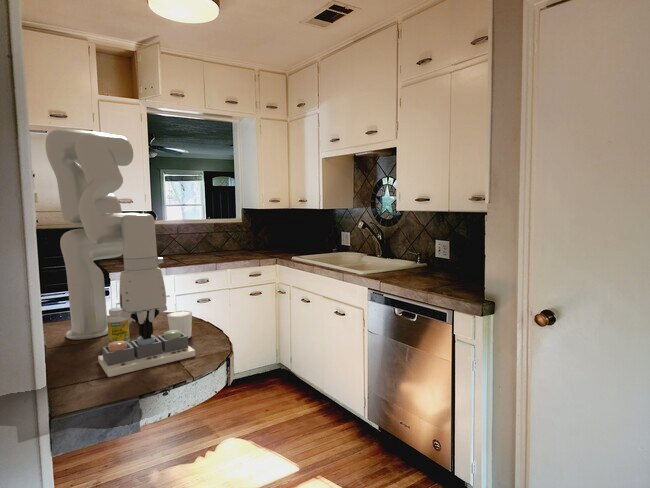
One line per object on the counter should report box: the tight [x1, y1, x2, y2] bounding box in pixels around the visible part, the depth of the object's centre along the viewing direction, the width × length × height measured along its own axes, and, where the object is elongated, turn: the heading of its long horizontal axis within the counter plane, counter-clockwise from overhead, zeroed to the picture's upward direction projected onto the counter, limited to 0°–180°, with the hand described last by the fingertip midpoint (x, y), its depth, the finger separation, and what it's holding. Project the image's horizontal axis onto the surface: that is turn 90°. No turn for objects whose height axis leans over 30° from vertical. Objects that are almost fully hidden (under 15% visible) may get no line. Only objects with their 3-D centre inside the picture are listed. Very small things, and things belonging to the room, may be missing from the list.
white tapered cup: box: [166, 310, 193, 339], centre depth 124 cm, size 7×7×7 cm
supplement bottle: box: [107, 306, 131, 344], centre depth 121 cm, size 5×5×10 cm
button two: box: [136, 334, 156, 346], centre depth 107 cm, size 4×4×4 cm
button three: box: [163, 330, 181, 340], centre depth 111 cm, size 4×4×4 cm
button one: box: [107, 341, 127, 352], centre depth 103 cm, size 4×4×4 cm
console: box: [97, 332, 196, 378], centre depth 107 cm, size 12×20×4 cm, turn 127°
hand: (146, 337), depth 107 cm, fingers closed
